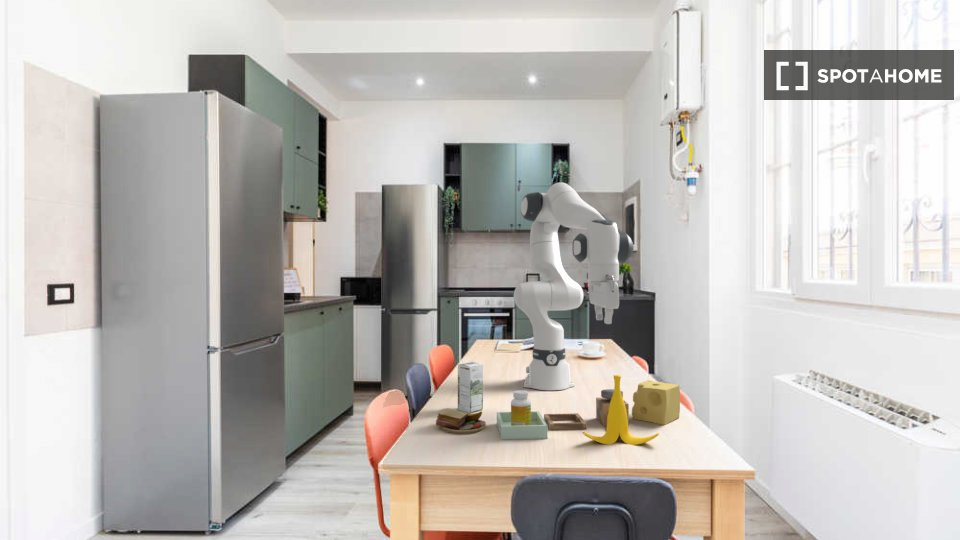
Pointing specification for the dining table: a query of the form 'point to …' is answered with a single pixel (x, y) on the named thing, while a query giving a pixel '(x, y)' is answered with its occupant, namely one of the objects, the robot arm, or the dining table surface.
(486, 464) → the dining table surface
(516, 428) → the tray
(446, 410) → the toy sandwich meal
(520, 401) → the supplement bottle
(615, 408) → the banana peel
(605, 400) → the tan square block
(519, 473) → the dining table surface
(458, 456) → the dining table surface
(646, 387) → the cheese
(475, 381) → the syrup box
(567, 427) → the brown wooden frame
